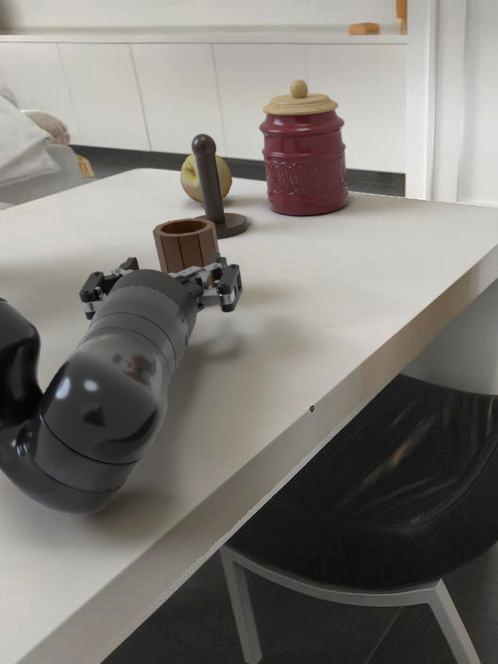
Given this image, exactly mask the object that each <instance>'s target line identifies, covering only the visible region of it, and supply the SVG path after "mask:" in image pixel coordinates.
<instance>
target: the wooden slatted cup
mask: <svg viewBox="0 0 498 664" xmlns="http://www.w3.org/2000/svg"><path fill="white" fill-rule="evenodd" d="M152 235H153V239H154V244H155V249H156V253H157V258H158V262H159V267H160V271H161V272H164V273H166V274H168V273H171V272H173V273H178V272H180V271H182V270H185V269H187V268H190V267H192V266H197V267H202V268H203V267H205V266H207V265H208V263H209V261H210V259H211V256H212V254H213V253H220V247H219V242H218V239H217V235H216V229H215V223H214V222H212V221H209V220H207V219H198V218H195V217H190V218H189V217H188V218H180V219H179V218H178V219H173V220H169V221H165V222H163V223H160V224H157V225H156V226H155V227H154V228H153V230H152ZM189 280H190V281H192V282H194V281H193V278H191V279H189ZM208 285H209V286H210V285H212V282H211V277H210V276H208Z"/></svg>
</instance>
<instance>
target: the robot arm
mask: <svg viewBox="0 0 498 664" xmlns="http://www.w3.org/2000/svg"><path fill="white" fill-rule="evenodd" d="M221 255H222V254H221V252H219V253H213V254H212V256H211V259H210V261H209V263H208V265H207V266H205V267H203V268H202V267H197V266H192V267H190V268H187V269H185V270H182V271H180V272H178V273H173V272H171V273H168V274H166V273H164V272H161V270H157V269H153V268H152V269H150V268H140V266H139V262H138V258H137V257H136V256H132V257H131V256H130V257H128V258H127V259H126V261H124V262H122V263H121V264H120V265H119V267H116V268H112V269H111V270H110V274H108V275H105V273H104V271H99V270H98V271H97V270H96V271H93V272H91V273H90V274H89V276H88V277H87V279H86V281H85V282H84V284H83V286H82V287H81V289H80V290H79V292H78V295H79V298H80V301H81V304H82V308H83V312H84V314H85V318H86V320H87V321H90V323H89V326H88V329H87V331H86V333H85V334H84V335H83V337H82V338H81V340H80V341H79V343H78V344H77V346H76V348H75V349H73V351H72V352H71V353H70V354H69V355H68V356H67V357H66V359H65V360H64V361H63V362H62V364H61V365H60V366H59V367H58V369H57V371H56V372H55V374H54V375H53V377H52V379H50V382H49V383H48V385H47V387H46V388H45V391H43V389H42V388H41V385H40V382H39V365H40V359H41V353H42V352H41V351H42V338H41V334H40V332H39V330H38V328H37V327H36V326H35V324H34V323H33V322H32V321H31V320H30V319H29V318H28V317H27V316H26V315H25V314H23V312H21V311H20V310H19V309H18V308H16V307H15V306H14V305H13V304H12V303H10V302H9V301H8V300H7V299H6V298H4V296H2V295H1V294H0V471H1V472H2V474H3V475H4V476H5V477H6V478H7V479H8V480H9V482H11V484H13V485H14V486H15V487H16V488H17V489H18V490H19V491H20V492H21V493H22V494H23V495H25V496H26V497H28V498H29V499H30V500H32V501H34V502H35V503H37V504H39V505H41V506H43V507H45V508H47V509H49V510H52V511H55V512H59V513H62V514H67V515H75V516H83V515H90V514H94V513H97V512H100V511H102V510H103V509H105V508H106V507H108V505H110V504H111V503H112V502H113V500H115V498H116V497H117V495H119V493H120V491H121V490H122V488H123V487H124V486H125V484H126V483H127V481H128V480H129V478H130V477H131V475H132V474H133V472H134V470H135V469H136V467H137V466H138V464H139V463H140V462H141V460H142V459H143V457H145V455H146V454H147V452H148V450H149V449H150V447H152V444H153V443H154V441H155V440H156V437H157V436H158V434H159V432H160V431H161V430H160V429H161V428H162V426H163V424H164V420H165V418H166V415H167V411H168V406H169V403H168V402H169V401H168V388H169V387H170V384H171V380H172V379H173V378H172V377H173V375H174V374H175V372H176V371H177V369H178V368H179V366H180V364H181V362H182V360H183V358H184V355H185V352H186V350H187V348H188V347H189V343H190V340H191V336H192V334H193V331H194V329H195V325H196V322H197V316H198V313H199V312H201V311H203V310H204V309H205V308H206V306H210V305H211V306H212V305H218V307H220V309H221V312H222V313H232V312H234V311H235V310H236V307H237V305H238V303H239V300H240V299H241V296H242V293H243V291H244V289H243V284H242V283H243V282H242V275H241V268H240V265H239V264H237V263H230V264H228V261H227V258H226V257H225V256H221ZM208 276H210V277H211V282H212V285H210V286H209V285H208ZM191 278H193V281H194V282H192V281H190V280H189V279H191Z"/></svg>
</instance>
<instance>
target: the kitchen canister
mask: <svg viewBox="0 0 498 664" xmlns="http://www.w3.org/2000/svg"><path fill="white" fill-rule="evenodd" d="M289 93H290V94H282V95H278V96H274V97H272V98H271V99H270V101H269V102H268V103H267V104H266V105H264V106H263V107H262V112H263V113H264V114H265V118H264V120H263V121H262V122H261V123H260V124H259V126H258V129H259V131H260V132H261V133H262V135H263V148H262V149H261V153H262V155H263V165H264V171H265V179H266V181H265V182H266V195H267V201H268V203H269V208H270V209H271V211H273V212H276V213H278V214H282V215H289V216H313V215H321V214H322V215H323V214H326V213H331V212H335V211H337V210H340V209H342V208H343V207H345V206H346V205H347V203H348V197H349V185H348V183H347V182H348V181H347V180H348V179H347V164H346V163H347V161H346V148H347V145H346V144H345V142H344V141H343V133H342V130H343V128H344V126H345V124H346V122H345V120H344V119H343V118H342V117H341V116H340V115H338V113H337V111H336V110H337V109H338V108H339V103H338V102H336V101H335V100H333V99H331V97H329V95H328V94H325V93H324V94H323V93H317V92H316V93H315V92H313V93H312V92H310V93H309V89H308V85H307V83H306V81H305V80H303V79H299V78H297V79H294V80H292V81H291V83H290V86H289Z"/></svg>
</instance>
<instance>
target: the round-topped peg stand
mask: <svg viewBox="0 0 498 664" xmlns="http://www.w3.org/2000/svg"><path fill="white" fill-rule="evenodd" d="M191 152H192V154H194V155H195V158H196V164H197V170H198V175H199V181H200V187H201V193H202V198H203V209H204V214H202V215H198V216H196V217H194V218H198V219H207V220H209V221H212V222H214V223H215V229H216V235H217V240H218V239H224V238H229V237H234V236H237V235H240V234H242V233H244V232H245V231H247V230H248V227H249V225H248V218H247V217H246V216H245V215H243V214H240V213H235V212H225V208H224V202H223V201H224V200H223V199H222V194H221V187H220V181H219V174H218V168H217V162H216V155H217V144H216V141H215V140H214V138H213V137H212V136H210V135H209V134H207V133H199V134H196V135H195V136H194V137H193V139H192V141H191ZM215 154H216V155H215Z"/></svg>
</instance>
